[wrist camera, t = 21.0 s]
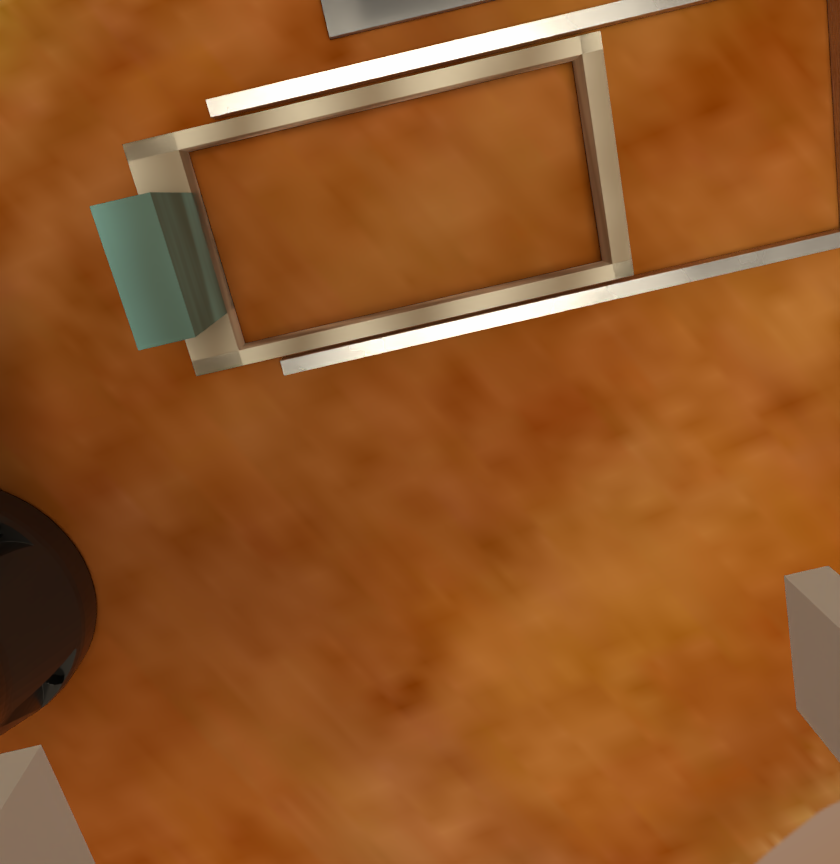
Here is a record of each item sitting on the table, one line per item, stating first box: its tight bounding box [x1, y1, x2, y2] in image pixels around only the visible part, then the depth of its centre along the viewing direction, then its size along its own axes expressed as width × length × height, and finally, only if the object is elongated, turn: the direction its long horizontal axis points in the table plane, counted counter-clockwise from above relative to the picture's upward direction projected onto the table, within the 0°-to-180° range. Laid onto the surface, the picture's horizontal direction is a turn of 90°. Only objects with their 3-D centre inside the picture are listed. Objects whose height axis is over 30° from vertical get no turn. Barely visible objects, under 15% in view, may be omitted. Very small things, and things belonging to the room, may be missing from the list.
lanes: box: [206, 0, 840, 375], centre depth 40 cm, size 32×14×1 cm, turn 103°
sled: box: [90, 31, 634, 376], centre depth 36 cm, size 23×12×9 cm, turn 103°
